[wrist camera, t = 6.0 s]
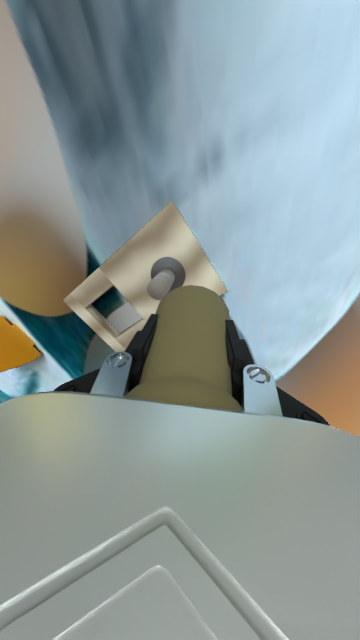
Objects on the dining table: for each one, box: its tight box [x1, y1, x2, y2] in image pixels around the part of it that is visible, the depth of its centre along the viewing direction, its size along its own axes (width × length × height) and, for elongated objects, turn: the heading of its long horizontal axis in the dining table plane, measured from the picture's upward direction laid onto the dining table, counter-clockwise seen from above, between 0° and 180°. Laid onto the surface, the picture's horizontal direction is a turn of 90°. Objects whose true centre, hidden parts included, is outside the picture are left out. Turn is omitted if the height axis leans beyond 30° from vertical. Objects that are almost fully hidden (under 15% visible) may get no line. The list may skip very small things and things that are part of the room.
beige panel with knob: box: [63, 201, 227, 352], centre depth 25 cm, size 14×24×9 cm, turn 126°
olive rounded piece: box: [125, 285, 243, 411], centre depth 9 cm, size 6×6×11 cm
